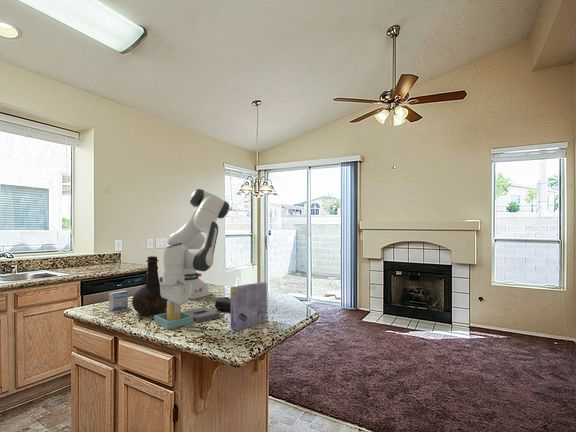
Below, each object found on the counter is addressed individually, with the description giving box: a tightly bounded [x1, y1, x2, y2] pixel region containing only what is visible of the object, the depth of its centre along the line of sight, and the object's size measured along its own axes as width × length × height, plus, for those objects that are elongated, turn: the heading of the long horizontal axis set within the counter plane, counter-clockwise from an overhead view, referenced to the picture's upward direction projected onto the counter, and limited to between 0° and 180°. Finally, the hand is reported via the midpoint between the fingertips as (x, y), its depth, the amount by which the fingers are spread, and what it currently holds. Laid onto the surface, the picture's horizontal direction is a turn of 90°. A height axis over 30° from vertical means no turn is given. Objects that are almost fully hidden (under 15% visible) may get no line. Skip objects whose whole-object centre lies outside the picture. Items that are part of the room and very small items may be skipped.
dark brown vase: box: [131, 255, 168, 316], centre depth 155 cm, size 18×18×28 cm
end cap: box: [214, 296, 231, 313], centre depth 158 cm, size 10×7×7 cm
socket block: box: [182, 306, 220, 324], centre depth 147 cm, size 12×14×2 cm
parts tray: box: [153, 310, 194, 330], centre depth 138 cm, size 12×14×4 cm
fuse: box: [166, 301, 181, 321], centre depth 138 cm, size 5×3×8 cm, turn 135°
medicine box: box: [108, 290, 129, 312], centre depth 163 cm, size 8×4×9 cm, turn 143°
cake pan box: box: [230, 281, 268, 332], centre depth 137 cm, size 19×5×18 cm, turn 141°
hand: (173, 310), depth 138 cm, fingers closed on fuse, 2 cm apart
